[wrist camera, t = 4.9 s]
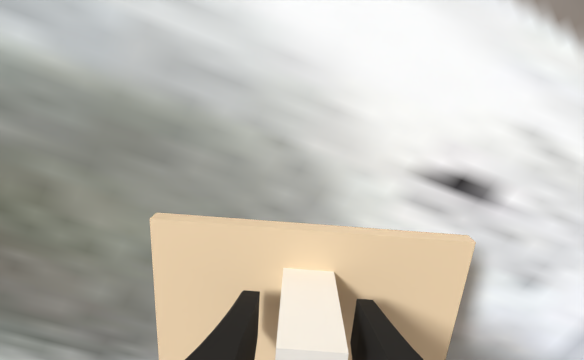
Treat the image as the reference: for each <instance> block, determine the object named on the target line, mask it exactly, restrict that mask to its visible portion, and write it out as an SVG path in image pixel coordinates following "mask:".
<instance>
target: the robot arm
mask: <svg viewBox="0 0 584 360" xmlns="http://www.w3.org/2000/svg"><path fill="white" fill-rule="evenodd" d="M259 299H260V291H247V290H244V291H242V292H241V293H240V295H239V297H238V298H237V300H236V301H235V303H234V304H233V306H232V307H231V308H230V310H229V311H228V312H227V314H226V315H225V316H224V318H223V319H222V320H221V321H220V322H219V324H218V325H217V326H216V327H215V329H214V330H213V331H212V332H211V333H210V334H209V335H208V336H207V337H206V339H205V340H204V341H203V342H202V343H201V344H200V345H199V346H198V347H197V348H196V349H195V350H194V351H193V352H192V353H191V354H190V355H189V356H188V357H187V358H186V359H185V360H254V359H255V353H256V345H257V338H258V322H259ZM350 344H351V354H352V360H424V359H423V358H422V357H421V356H420V355H419V354H418V353H417V352H416V351H415V350H414V349H413V348H412V347H411V346H410V344H409V343H408V342H407V341H406V340H405V339H404V337H403V336H402V335H401V334H400V333H399V332H398V330H397V329H396V328H395V327H394V326H393V324H392V323H391V322H390V321H389V319H388V318H387V317H386V316H385V314H384V313H383V312H382V311H381V309H380V308H379V307H378V306H377V304H376V303H375V302H374V301H373V300H369V299H357V300H356V307H355V314H354V321H353V327H352V334H351V341H350Z"/></svg>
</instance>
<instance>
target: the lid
mask: <svg viewBox="0 0 584 360" xmlns="http://www.w3.org/2000/svg"><path fill="white" fill-rule="evenodd" d="M150 231H151V246H152V261H153V276H154V291H155V307H156V322H157V337H158V352H159V360H185V359H186V358H187V357H188V356H189V355H190V354H191V353H192V352H193V351H194V350H195V349H196V348H197V347H198V346H199V345H200V344H201V343H202V342H203V341H204V340H205V339H206V337H207V336H208V335H209V334H210V333H211V332H212V331H213V330H214V329H215V327H216V326H217V325H218V324H219V322H220V321H221V320H222V319H223V318H224V316H225V315H226V314H227V312H228V311H229V310H230V308H231V307H232V306H233V304H234V303H235V301H236V300H237V298H238V297H239V295H240V293H241V292H242V291H244V290H247V291H260V299H259V322H258V338H257V345H256V353H255V359H254V360H352V354H351V344H350V341H351V334H352V327H353V321H354V314H355V307H356V300H357V299H369V300H373V301H374V302H375V303H376V304H377V306H378V307H379V308H380V309H381V311H382V312H383V313H384V314H385V316H386V317H387V318H388V319H389V321H390V322H391V323H392V324H393V326H394V327H395V328H396V329H397V330H398V332H399V333H400V334H401V335H402V336H403V337H404V339H405V340H406V341H407V342H408V343H409V344H410V346H411V347H412V348H413V349H414V350H415V351H416V352H417V353H418V354H419V355H420V356H421V357H422V358H423V359H424V360H445V359H446V355H447V352H448V348H449V344H450V340H451V336H452V332H453V328H454V325H455V321H456V317H457V313H458V309H459V305H460V301H461V298H462V294H463V290H464V286H465V282H466V278H467V274H468V271H469V267H470V263H471V259H472V255H473V251H474V248H475V244H476V242H475V241H474V240H473V239H471V238H470V237H469V236H468V235H457V234H443V233H429V232H416V231H402V230H388V229H374V228H361V227H347V226H333V225H319V224H306V223H292V222H278V221H264V220H251V219H237V218H223V217H209V216H196V215H182V214H168V213H156V214H154V215H153V216H152V217H151V218H150Z"/></svg>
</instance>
